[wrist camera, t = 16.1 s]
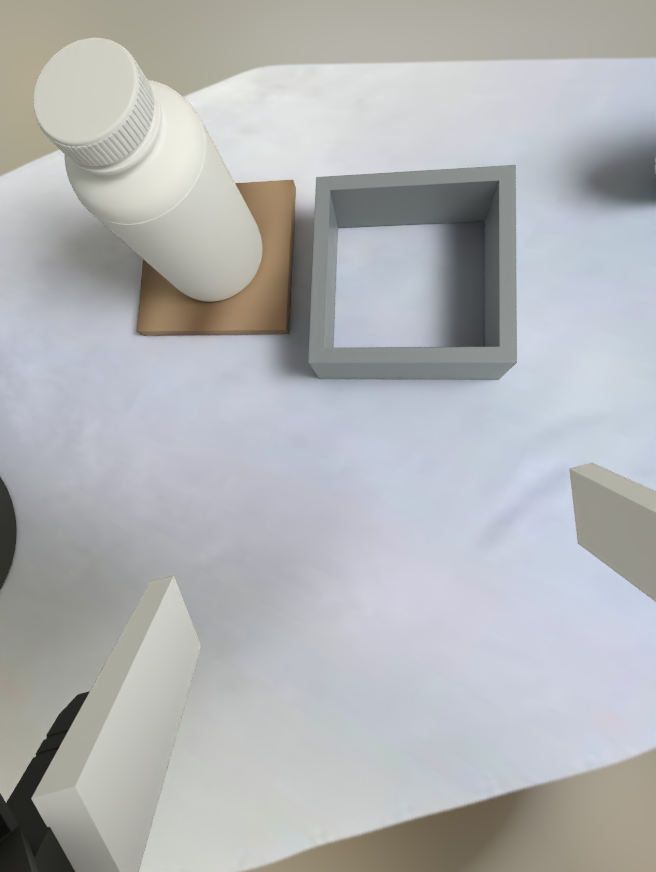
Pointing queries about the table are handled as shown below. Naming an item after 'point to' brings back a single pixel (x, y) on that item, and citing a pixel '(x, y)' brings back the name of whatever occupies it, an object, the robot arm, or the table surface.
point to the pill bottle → (148, 169)
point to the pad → (257, 303)
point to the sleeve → (406, 205)
